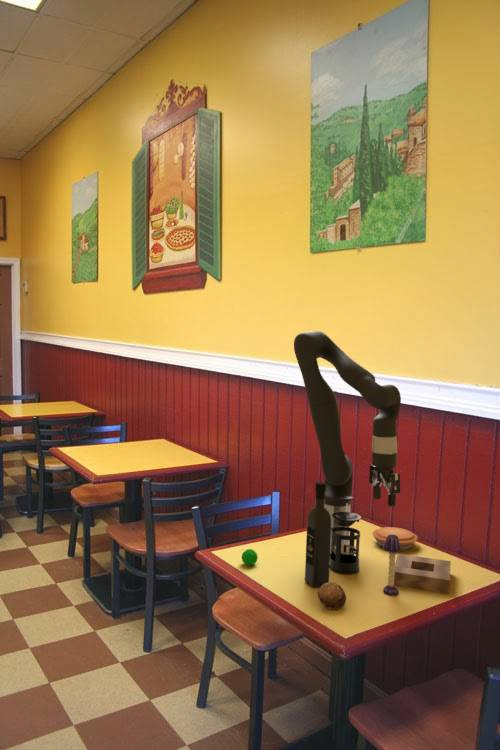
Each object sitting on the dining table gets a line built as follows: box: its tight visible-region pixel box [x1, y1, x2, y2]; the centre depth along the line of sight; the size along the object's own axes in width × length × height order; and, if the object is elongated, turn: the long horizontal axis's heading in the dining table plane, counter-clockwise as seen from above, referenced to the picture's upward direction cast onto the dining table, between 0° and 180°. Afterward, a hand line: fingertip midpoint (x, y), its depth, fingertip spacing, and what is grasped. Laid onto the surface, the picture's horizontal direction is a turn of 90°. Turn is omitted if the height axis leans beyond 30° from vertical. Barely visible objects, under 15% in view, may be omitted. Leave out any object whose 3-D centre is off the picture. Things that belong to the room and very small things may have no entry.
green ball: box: [241, 548, 259, 566], centre depth 193 cm, size 5×5×5 cm
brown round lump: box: [317, 581, 347, 611], centre depth 166 cm, size 8×8×6 cm
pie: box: [372, 526, 419, 551], centre depth 216 cm, size 16×16×5 cm
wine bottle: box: [304, 481, 331, 588], centre depth 179 cm, size 6×6×30 cm
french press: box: [329, 495, 362, 575], centre depth 192 cm, size 12×9×23 cm
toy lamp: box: [382, 535, 402, 596], centre depth 175 cm, size 5×5×17 cm
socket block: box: [394, 553, 452, 595], centre depth 186 cm, size 16×16×4 cm
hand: (384, 502), depth 188 cm, fingers open, 8 cm apart
